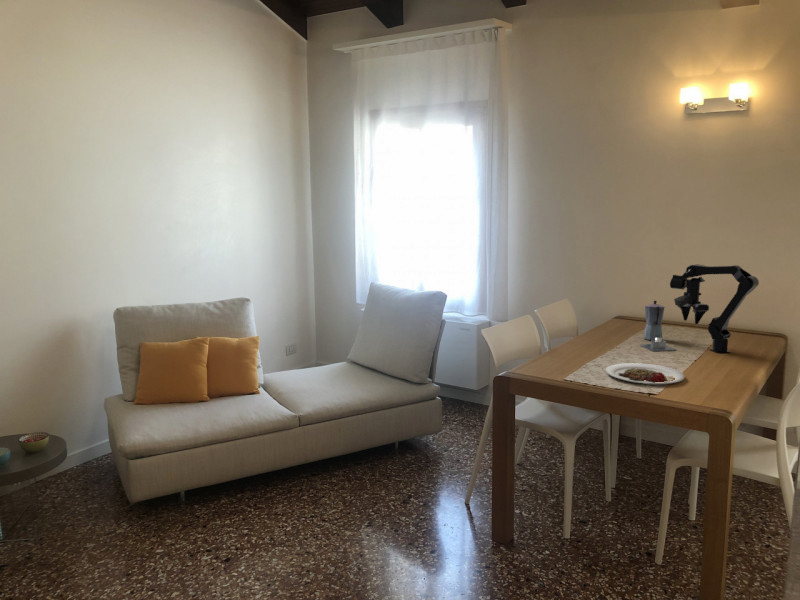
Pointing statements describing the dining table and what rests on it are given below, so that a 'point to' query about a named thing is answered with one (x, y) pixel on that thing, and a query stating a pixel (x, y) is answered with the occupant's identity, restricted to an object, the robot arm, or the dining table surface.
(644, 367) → the plated food
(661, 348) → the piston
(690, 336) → the dining table surface
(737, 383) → the dining table surface
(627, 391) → the dining table surface
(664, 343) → the ring
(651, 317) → the moka pot
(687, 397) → the dining table surface
